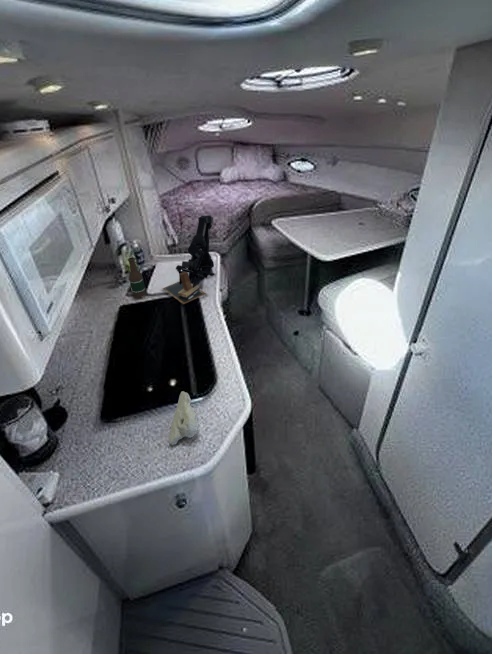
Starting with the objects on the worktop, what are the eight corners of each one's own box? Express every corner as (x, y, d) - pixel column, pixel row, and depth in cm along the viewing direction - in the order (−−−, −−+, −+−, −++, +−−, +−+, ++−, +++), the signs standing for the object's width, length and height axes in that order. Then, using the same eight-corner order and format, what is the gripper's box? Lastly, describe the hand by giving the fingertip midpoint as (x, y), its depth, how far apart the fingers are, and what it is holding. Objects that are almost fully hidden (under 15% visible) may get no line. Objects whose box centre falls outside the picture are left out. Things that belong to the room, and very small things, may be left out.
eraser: (178, 297, 188) (172, 276, 182) (191, 287, 196) (186, 267, 189) (186, 298, 185) (180, 278, 178) (199, 289, 192) (194, 269, 186)
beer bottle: (135, 292, 197) (126, 255, 186) (148, 292, 197) (140, 255, 185) (131, 299, 190) (121, 261, 179) (144, 299, 190) (135, 261, 178)
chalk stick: (192, 294, 190) (192, 293, 190) (196, 291, 192) (196, 290, 192) (193, 294, 189) (193, 294, 189) (197, 291, 192) (197, 291, 192)
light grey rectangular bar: (188, 298, 186) (188, 298, 185) (192, 295, 188) (192, 295, 188) (189, 299, 185) (189, 298, 185) (193, 296, 188) (193, 295, 188)
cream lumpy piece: (192, 456, 107) (215, 412, 110) (173, 451, 104) (197, 405, 107) (176, 434, 120) (196, 395, 123) (158, 428, 116) (180, 388, 120)
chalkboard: (162, 290, 198) (162, 288, 197) (184, 281, 206) (184, 279, 206) (183, 306, 182) (183, 304, 181) (206, 295, 190) (206, 293, 189)
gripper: (174, 251, 185) (164, 278, 182) (202, 257, 176) (192, 285, 173) (185, 259, 194) (176, 284, 191) (212, 264, 186) (203, 291, 183)
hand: (186, 286), depth 185 cm, fingers open, 9 cm apart
